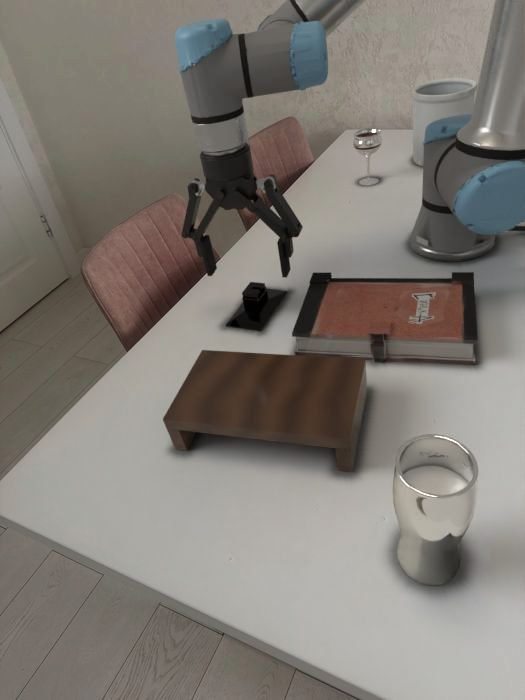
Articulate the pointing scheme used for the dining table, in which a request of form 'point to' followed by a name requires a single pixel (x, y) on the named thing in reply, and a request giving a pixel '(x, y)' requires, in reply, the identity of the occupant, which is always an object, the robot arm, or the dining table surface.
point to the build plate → (256, 307)
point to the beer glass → (433, 505)
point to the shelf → (272, 400)
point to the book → (389, 319)
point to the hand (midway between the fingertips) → (248, 272)
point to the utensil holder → (439, 106)
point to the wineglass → (367, 148)
